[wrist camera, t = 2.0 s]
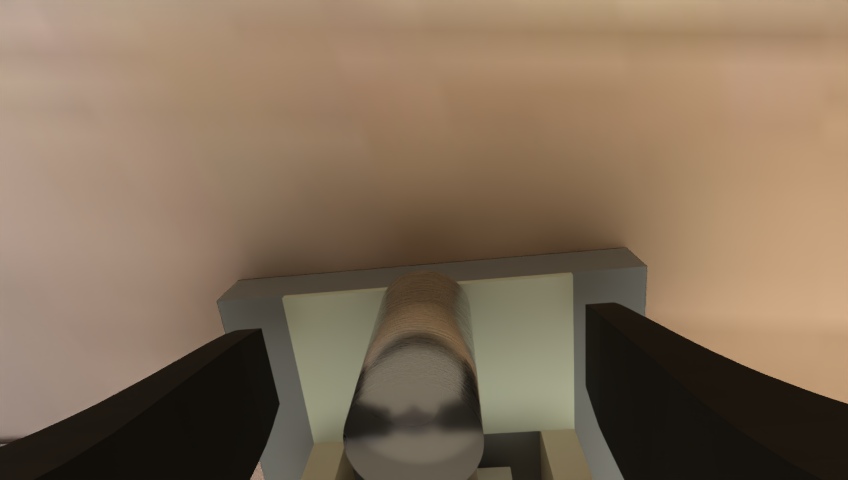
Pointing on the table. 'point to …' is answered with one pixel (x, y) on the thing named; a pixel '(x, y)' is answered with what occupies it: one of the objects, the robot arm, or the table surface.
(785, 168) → the table surface
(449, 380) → the sliding block with knob
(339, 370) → the tunnel deck
